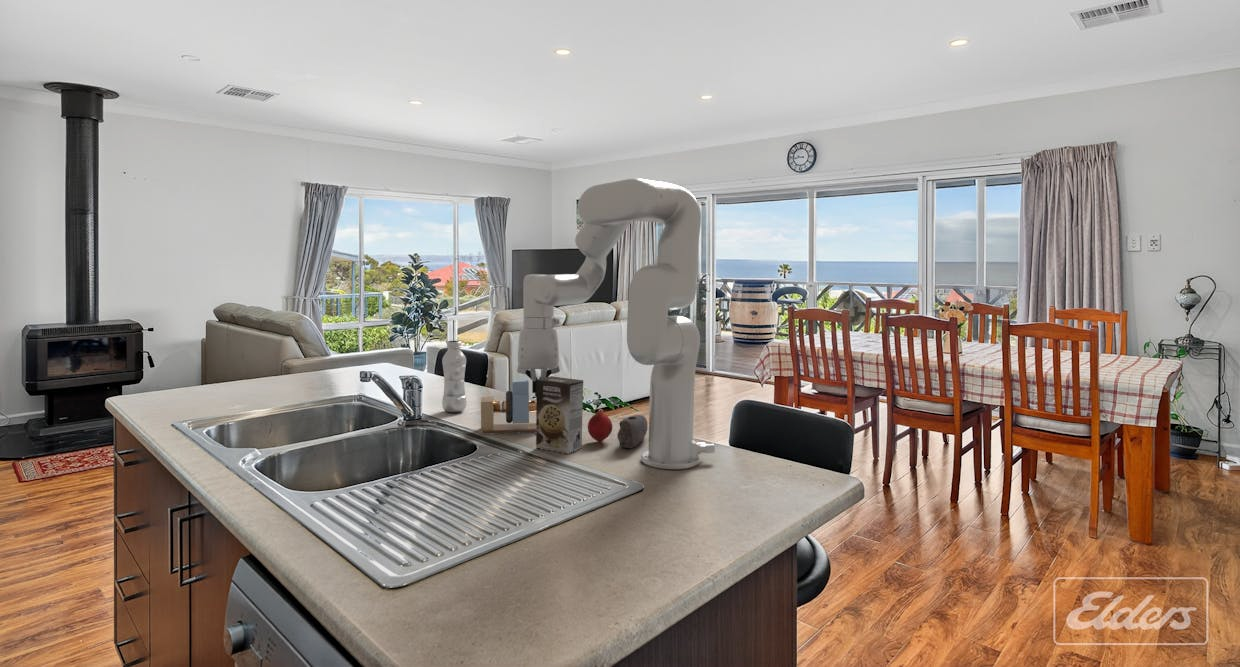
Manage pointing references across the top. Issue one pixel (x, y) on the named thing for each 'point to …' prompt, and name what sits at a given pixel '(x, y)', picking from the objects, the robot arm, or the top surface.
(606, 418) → the onion
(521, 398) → the blue-grey stepped block
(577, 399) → the coffee box
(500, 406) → the pipe rig
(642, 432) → the perforated stone tool
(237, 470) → the top surface
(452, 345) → the plastic bottle
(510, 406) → the o ring
